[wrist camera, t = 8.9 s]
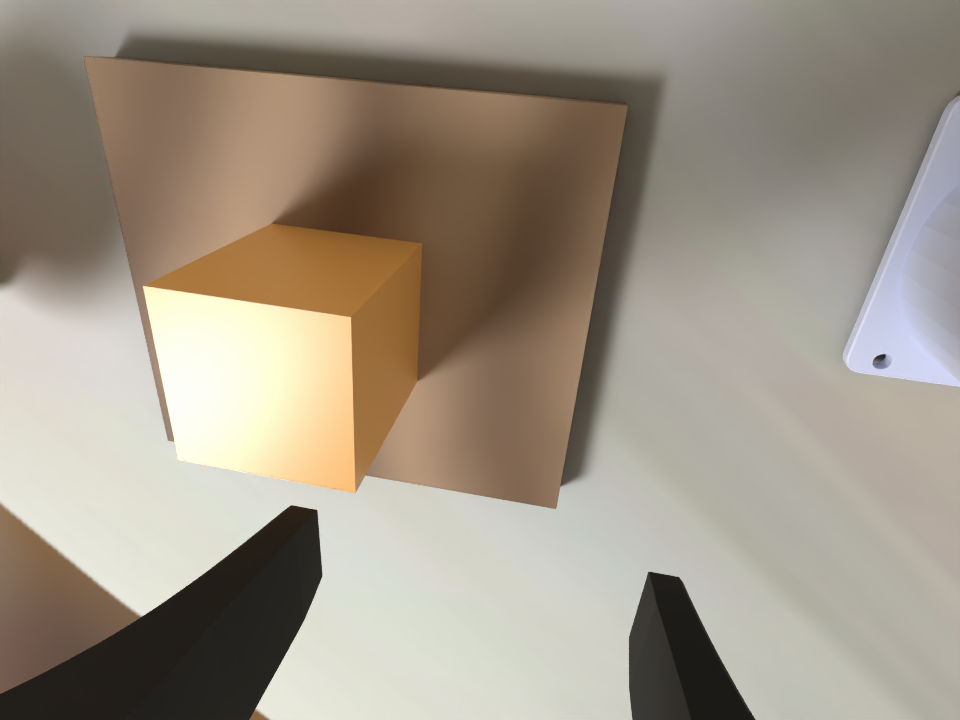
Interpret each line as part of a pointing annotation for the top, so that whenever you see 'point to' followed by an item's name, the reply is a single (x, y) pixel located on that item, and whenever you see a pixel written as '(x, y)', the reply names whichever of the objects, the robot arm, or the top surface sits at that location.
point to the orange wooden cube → (289, 352)
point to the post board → (393, 232)
